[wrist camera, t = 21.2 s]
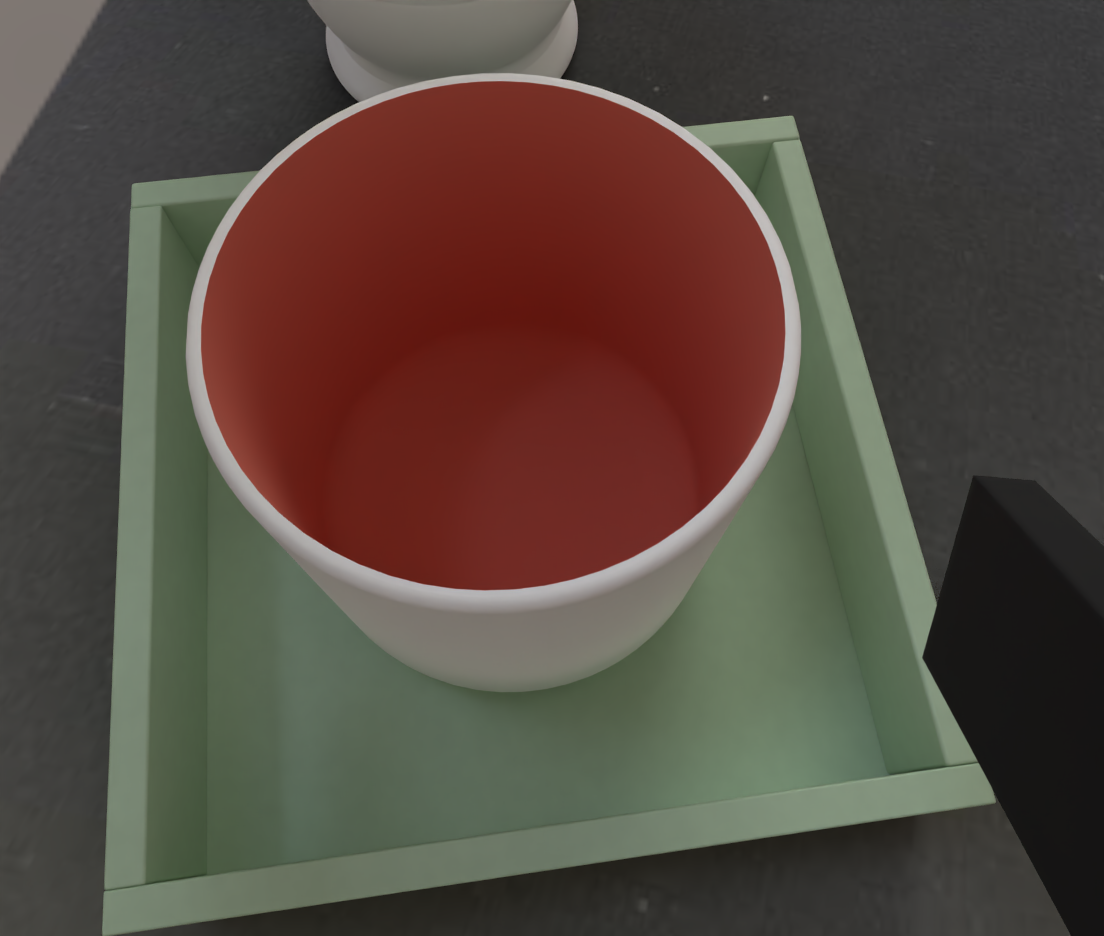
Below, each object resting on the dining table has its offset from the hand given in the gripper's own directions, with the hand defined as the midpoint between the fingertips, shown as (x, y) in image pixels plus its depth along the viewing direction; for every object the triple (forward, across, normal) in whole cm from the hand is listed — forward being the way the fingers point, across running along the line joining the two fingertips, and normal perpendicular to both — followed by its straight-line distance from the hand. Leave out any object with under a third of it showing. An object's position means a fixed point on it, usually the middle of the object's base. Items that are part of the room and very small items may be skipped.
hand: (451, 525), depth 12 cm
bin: (+12, 0, -6) cm, 13 cm away
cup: (+11, 0, -5) cm, 12 cm away
